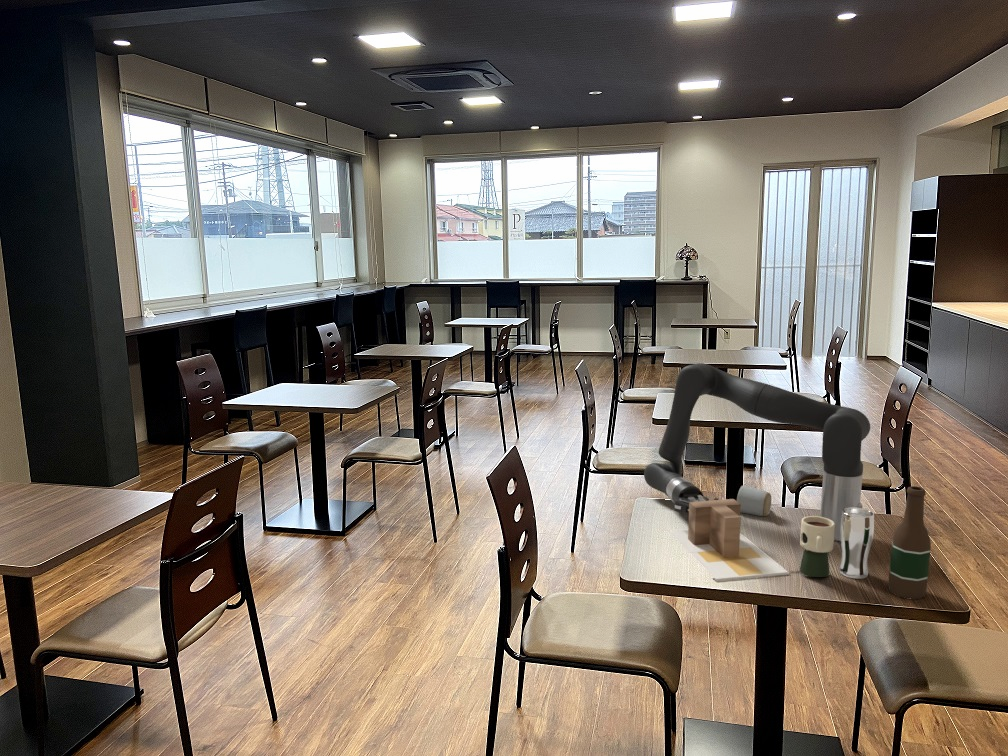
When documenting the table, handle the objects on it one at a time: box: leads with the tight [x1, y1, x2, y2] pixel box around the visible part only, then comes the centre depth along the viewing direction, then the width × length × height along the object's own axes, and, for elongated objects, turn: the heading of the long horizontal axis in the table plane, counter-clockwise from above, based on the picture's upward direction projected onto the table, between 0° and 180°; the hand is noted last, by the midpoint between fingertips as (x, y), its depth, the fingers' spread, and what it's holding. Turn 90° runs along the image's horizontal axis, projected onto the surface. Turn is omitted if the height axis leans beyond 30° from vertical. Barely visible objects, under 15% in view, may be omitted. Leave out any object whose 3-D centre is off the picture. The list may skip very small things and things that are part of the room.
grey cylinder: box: [736, 485, 772, 517], centre depth 215 cm, size 11×8×8 cm
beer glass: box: [838, 507, 875, 580], centre depth 176 cm, size 7×7×15 cm
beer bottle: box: [888, 485, 932, 600], centre depth 166 cm, size 8×8×24 cm
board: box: [667, 528, 789, 582], centre depth 190 cm, size 29×18×1 cm, turn 10°
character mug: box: [799, 515, 835, 578], centre depth 176 cm, size 11×7×13 cm, turn 162°
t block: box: [687, 498, 742, 557], centre depth 191 cm, size 12×12×10 cm
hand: (710, 516), depth 197 cm, fingers closed
